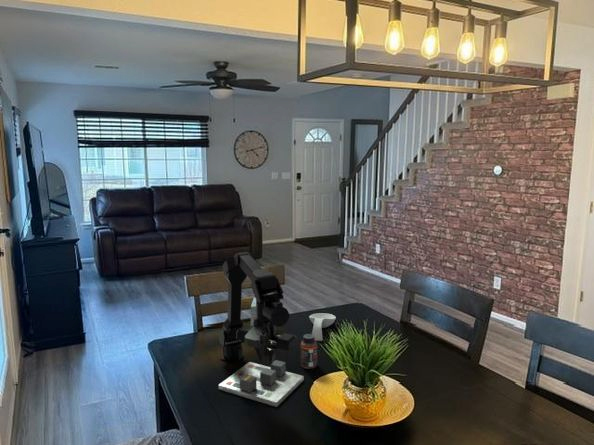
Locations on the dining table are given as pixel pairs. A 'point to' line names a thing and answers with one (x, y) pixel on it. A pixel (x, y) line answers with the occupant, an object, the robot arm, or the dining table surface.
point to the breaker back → (278, 367)
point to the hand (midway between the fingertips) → (266, 363)
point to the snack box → (253, 311)
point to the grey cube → (248, 383)
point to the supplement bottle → (308, 352)
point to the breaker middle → (268, 376)
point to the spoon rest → (320, 323)
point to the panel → (262, 385)
